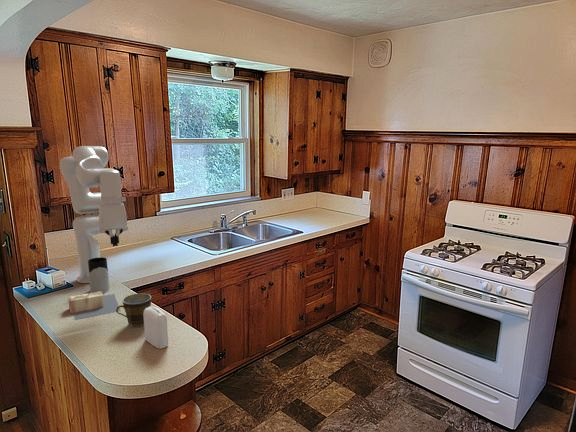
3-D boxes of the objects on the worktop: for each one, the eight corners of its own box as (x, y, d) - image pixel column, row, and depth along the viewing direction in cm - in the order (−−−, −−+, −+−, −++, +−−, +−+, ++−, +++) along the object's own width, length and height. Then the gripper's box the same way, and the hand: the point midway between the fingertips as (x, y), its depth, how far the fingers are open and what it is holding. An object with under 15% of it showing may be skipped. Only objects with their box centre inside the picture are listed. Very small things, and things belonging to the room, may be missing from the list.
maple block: (102, 302, 160) (69, 308, 154) (101, 291, 159) (68, 296, 153) (103, 306, 156) (70, 313, 150) (102, 295, 155) (68, 301, 149)
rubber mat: (72, 302, 161) (72, 301, 161) (114, 295, 169) (114, 293, 169) (74, 321, 144) (74, 320, 144) (120, 312, 152) (120, 310, 152)
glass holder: (90, 297, 167) (87, 264, 164) (86, 286, 178) (83, 255, 176) (112, 293, 172) (109, 260, 169) (107, 283, 183) (104, 253, 180)
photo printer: (143, 339, 132) (140, 306, 129) (154, 335, 135) (152, 302, 132) (158, 350, 125) (156, 315, 123) (170, 345, 128) (168, 311, 126)
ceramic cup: (143, 315, 150) (142, 291, 148) (158, 322, 144) (156, 297, 142) (111, 327, 140) (109, 301, 138) (125, 336, 134) (123, 309, 132)
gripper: (130, 198, 160) (132, 241, 164) (90, 201, 153) (93, 245, 156) (133, 201, 154) (136, 245, 157) (91, 203, 146) (95, 250, 150)
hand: (115, 245), depth 157 cm, fingers closed
